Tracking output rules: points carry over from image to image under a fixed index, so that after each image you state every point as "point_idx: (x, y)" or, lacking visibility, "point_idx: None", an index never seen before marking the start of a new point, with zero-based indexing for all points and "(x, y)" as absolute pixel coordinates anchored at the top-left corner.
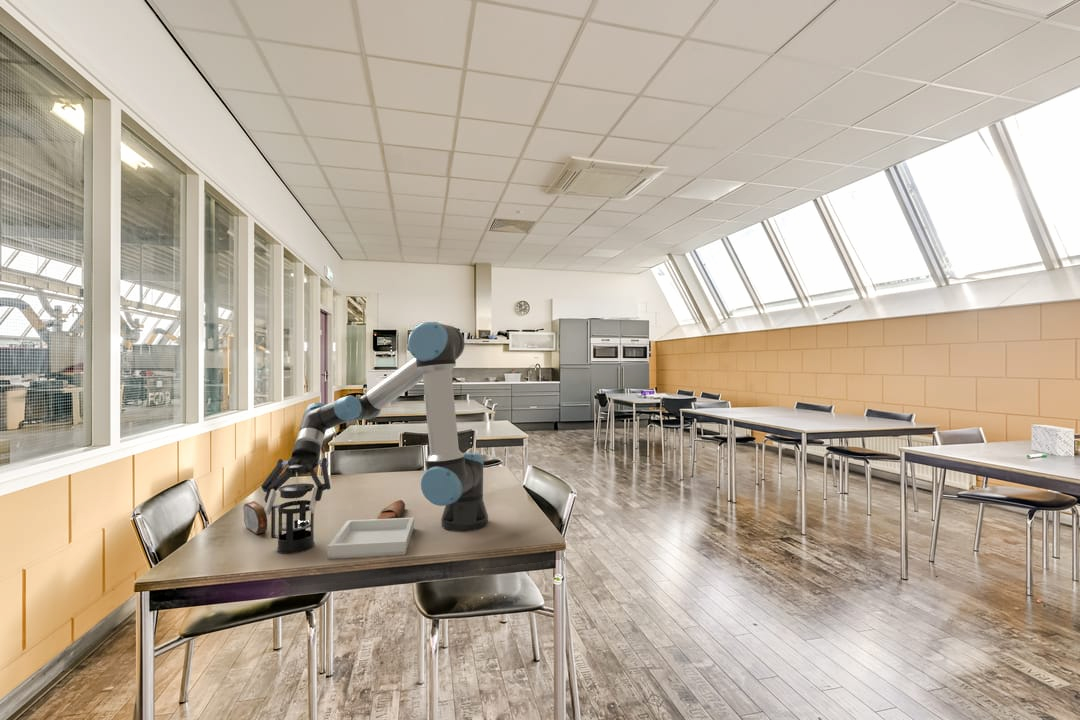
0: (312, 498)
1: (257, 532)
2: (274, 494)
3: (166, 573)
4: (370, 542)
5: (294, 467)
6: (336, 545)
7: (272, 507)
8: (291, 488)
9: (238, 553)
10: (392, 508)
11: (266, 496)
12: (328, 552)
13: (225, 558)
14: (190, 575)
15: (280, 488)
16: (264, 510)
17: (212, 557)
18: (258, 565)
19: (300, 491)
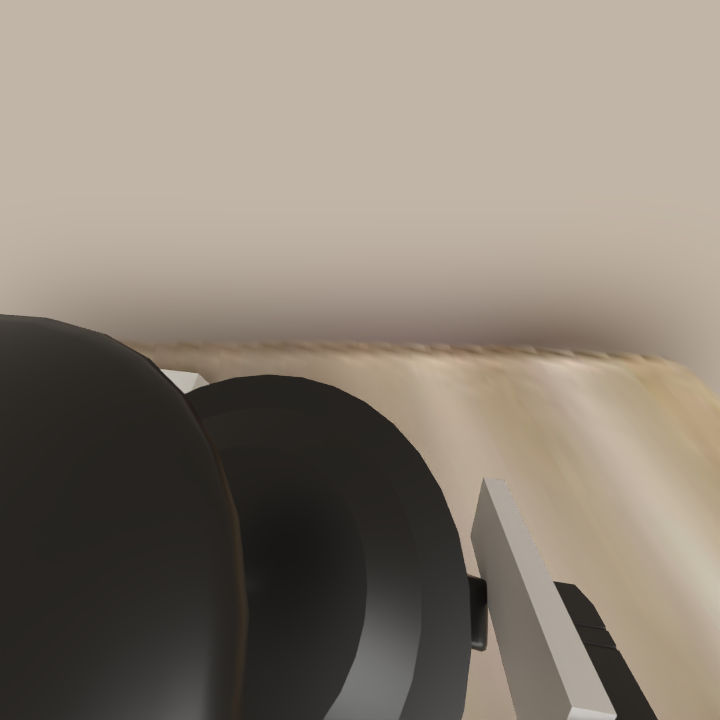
0: None
1: None
2: (535, 702)
3: (690, 407)
4: None
5: (3, 324)
6: (170, 370)
7: (479, 580)
8: (289, 445)
9: (554, 556)
10: None
11: (596, 633)
12: (206, 383)
13: (575, 504)
14: (595, 372)
15: (443, 562)
16: (502, 483)
17: (640, 534)
18: (421, 398)
19: (205, 408)
